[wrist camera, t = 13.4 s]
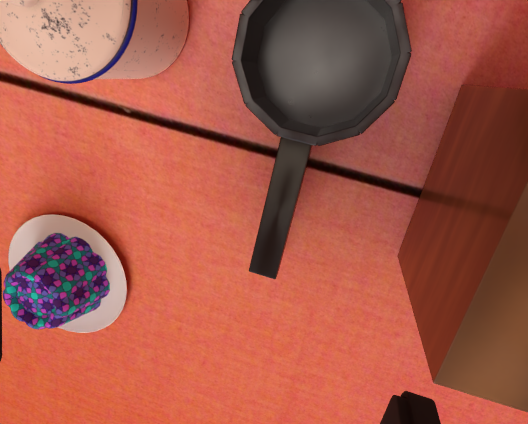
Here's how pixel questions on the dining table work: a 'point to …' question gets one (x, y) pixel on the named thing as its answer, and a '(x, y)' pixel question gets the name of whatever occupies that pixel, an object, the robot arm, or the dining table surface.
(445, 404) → the dining table surface
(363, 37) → the pan
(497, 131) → the wooden cube
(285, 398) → the dining table surface
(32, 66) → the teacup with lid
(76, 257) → the pudding
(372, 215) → the dining table surface
